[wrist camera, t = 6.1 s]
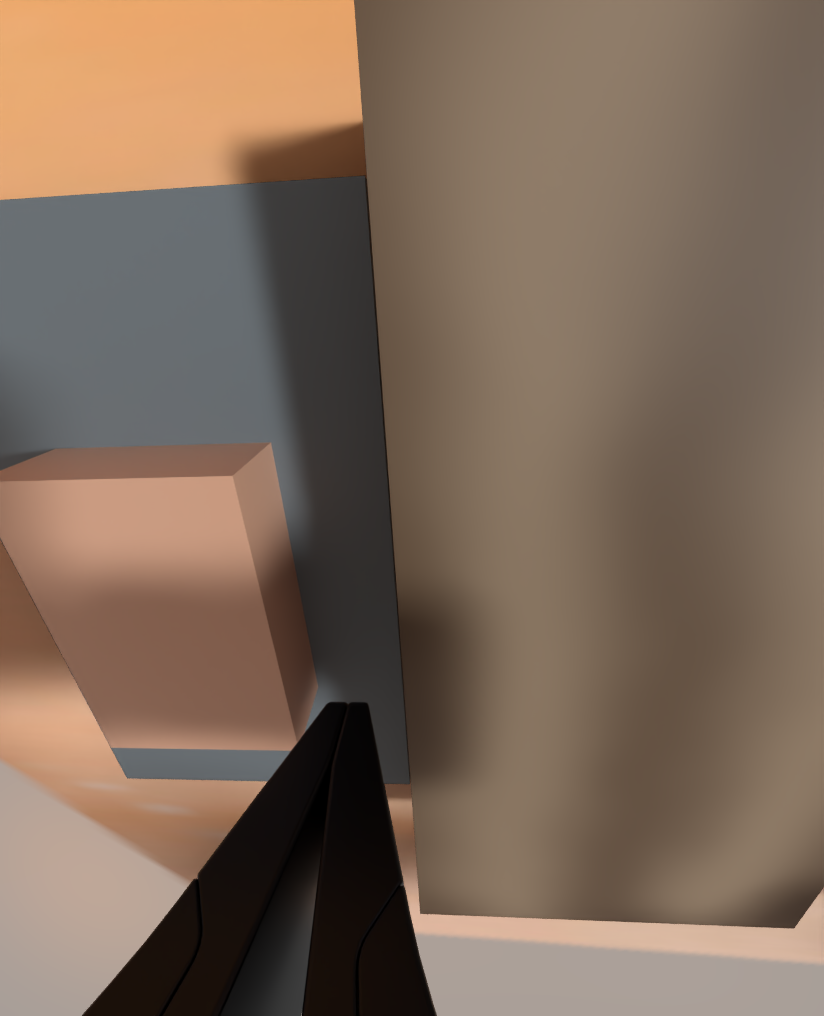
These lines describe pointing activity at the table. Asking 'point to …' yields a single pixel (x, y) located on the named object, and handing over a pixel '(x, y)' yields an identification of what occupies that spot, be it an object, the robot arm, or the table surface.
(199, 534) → the salmon brown block
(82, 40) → the table surface
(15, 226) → the mat
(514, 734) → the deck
